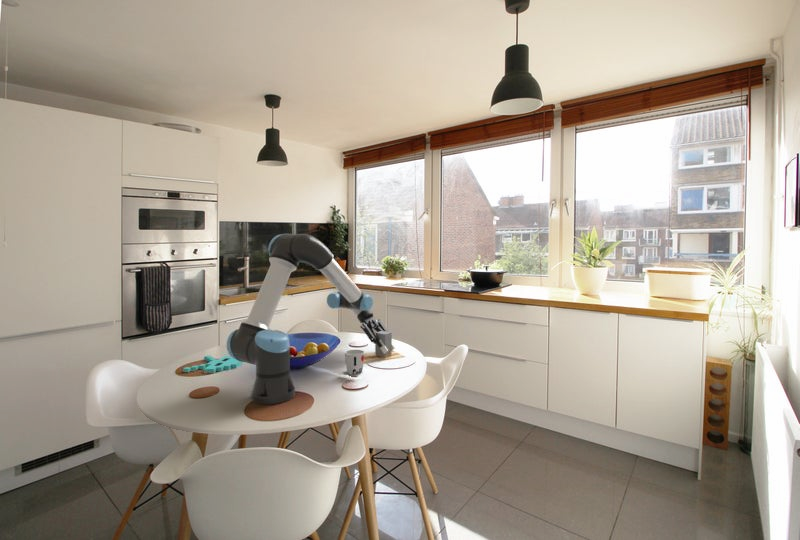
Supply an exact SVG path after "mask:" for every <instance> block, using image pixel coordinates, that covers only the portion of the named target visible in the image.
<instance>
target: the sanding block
mask: <svg viewBox="0 0 800 540" xmlns="http://www.w3.org/2000/svg"><path fill="white" fill-rule="evenodd" d="M375 332H376V334H377V336H378V338H379V340H380V339H381V341H382V342H383V343H384V345H385V346H386V348H387V349H388V351H387V352H386V353H385V354H384V353H383V352H382V350H381V349H380V348H379V347H378V345H377V344H376V343H375V344H374V347H375V348H374V349H375V350H374V351H375V355H376V356H381V357H388V356H390V355H392V344H393V343H392V342H393V341H392V338H393V337H392V336H393V334H392V331H388V332H386V331H379V332H377V331H375Z"/></svg>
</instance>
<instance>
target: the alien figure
mask: <svg viewBox="0 0 800 540" xmlns="http://www.w3.org/2000/svg"><path fill="white" fill-rule="evenodd" d="M203 360H204V361H206V363H202V364H200V365H193V366H190V367H189V366H185V367H184V368H183V370H182V372H189V371H191V370H197V369H204V368H205V369H204V370H203V373H204V372H210V373H209V374H215V373H216V371H217V372H220V371H222V372H223V371H229V369H230V370H231V369H238V368H239V367H240V366H241V365H243V364H242V363H243V362H241V361H238V360H236V359H234V358H232V357H231V356H230V355H223V356H221V357H220V358H219V359H217V358H216V357H214V356H212V355H208V354H207V355H205V356H204V357H203ZM207 361H209V362H207ZM238 366H239V367H238ZM191 372H192V371H191ZM189 373H190V372H189Z"/></svg>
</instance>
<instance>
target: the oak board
mask: <svg viewBox="0 0 800 540" xmlns="http://www.w3.org/2000/svg"><path fill="white" fill-rule="evenodd" d="M400 358H406V356H405V355H403V354H401V353H398V352H396V351H394V350H393V351H392V355H390V356H388V357H381V356H376V355H375V352H370V353H364V364H363V365H366V364H370V363H371V364H372V363H377V362H382V361H389V360H395V359H400Z"/></svg>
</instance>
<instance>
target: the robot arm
mask: <svg viewBox="0 0 800 540" xmlns="http://www.w3.org/2000/svg"><path fill="white" fill-rule="evenodd" d="M267 250H268V255H269V258H268V260H269V263H270V266H269V268H268V270H267V271H266V275H265V278H264V280H263V281H262V284H261V287H260V289H259V291H258V294H257V296H256V299H255V300H254V303H253V305H252V307H251V310H250V313H249V314H248V317H247V319H245V320H244V321H241V323H240V325H239V328H237V329H235V330H233V331H232V332H231V333H230V334H229V335H228V338H227V339H226V350H227V353H228V356H231V357H232V358H234V359H236V360H238V361H241V362H242V363H247V364H250V365H255V380H254V384H253V387H252V390H251V395H250V396H251V398H250V399H251V401H252V402H253V403H256V404H260V405H275V404H281V403H284V401H285V402H287V400H288V401H290V400H291V398H292V399H293V398H294V397H295V396H296V388H295V385H294V382H293V379H292V377H291V374H290V373H291V372H290V371H291V370H290V368H291V365H290V364H291V363H290V359H291V357H290V355H291V353H290V351H291V350H290V349H291V348H290V347H291V344H290V338H289V335H288V334H287V333H286V332H284V331H281V330H279V329H278V330H277V329H270V325H271V322H272V321H273V318H274V315H275V313H276V311H277V308H278V305H279V303H280V301H281V298H282V295H283V293H284V290H285V288H286V287H287V283H288V281H289V278H290V276H291V273H292V272H295V271H297V269H298V266H299V264H300V263H305V264H307V265H309V266H312V268H313V269H314V270H317V271H319V272H321V274H322V275H323V277H325V278H326V279H327V280H328V281H329V283H331V285H332V286H333V287H334V288H335V289H337V291H334V292H331V293H329V294H328V295H327V298H326V304H327V305H328V307H329V308H331V309H348V310H351V311H352V313H353V315H355V317H356V318H357V320H358V321H359V322H360V324H361V325H360V326H359V327H360V328H361V329H362V330H363V332H364V333H365V335H366V336H367V338H368V339H369V341H370V343H373V344H374V345H375V343H376V344H377V345H378V347H379V348H380V349H381V350H382V352H383V353H384V354H385V353H386V352H387V351H388V349H387V348H386V346H385V345H384V343H383V342H382V341H381V339H380V340H379V338H378V336H377V334H376V332H379V331H386V332H389V331H388V330H387V329H386V327H385V326H384V324H383V323H382V321H381V319H376V318H375V317H374V313H373V312H372V310H371V309H372V307H373V304H374V299H373V296H371V295H370V294H367V293H363V292H362V290H361V289H360V288H359V287H358V286H357V285H356V283H354V281H353V280H352V279H351V277H350V276H349V275H348V274H347V273H346V271H345V270H344V269H343V268H342V266H340V264H339V263H338V262H337V261H336V260H335V258H334V254H333V252H332V251H331V250H330V249H329V247H327V245H325V244H324V242H322V241H320V240H319V239H318V238H316V237H315V236H313V235H311V234H307V233H282V234H281V233H280V234H278V235H275V236H274V237H273V238H272V239H271V241H270V242H269V244H268V248H267ZM395 349H396V347H395V345H394V344H393V343H392V351H394V350H395Z"/></svg>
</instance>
